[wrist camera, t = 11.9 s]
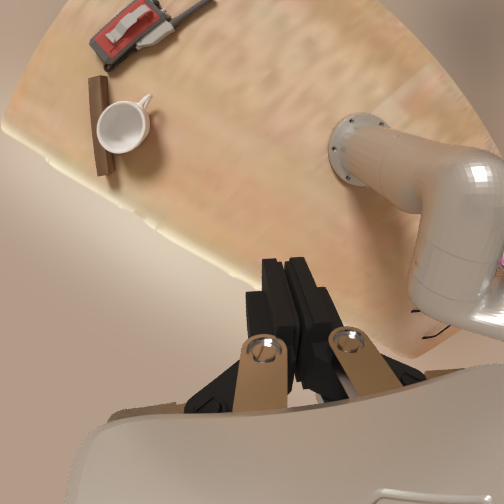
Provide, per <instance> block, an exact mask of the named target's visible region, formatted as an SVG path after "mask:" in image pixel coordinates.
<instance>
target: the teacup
mask: <svg viewBox="0 0 504 504" xmlns="http://www.w3.org/2000/svg"><path fill="white" fill-rule="evenodd" d="M151 98H152V94H148V95H146V96H145V97H144V98H143V99H142V100H141V101H140V102H138V103H134V102H130V101H119V102H116V103H113V104H111V105H110V106H108V107H107V108H106V109H105V110H104V111H103V113H102V114H101V116H100V118H99V120H98V123H97V137H98V140H99V142H100V144H101V145H102V146H103V147H104V148H105V149H106V150H107V151H109V152H112V153H116V154H121V153H126V152H129V151H132V150H133V149H135V148H136V147H138V146H139V145H140V144H141V143H142V141H143V140H144V139H145V138H146V136H147V135H148V133H149V130H150V119H149V115H148V113H147V111H146V108H147V105H148V103H149V102H150V100H151Z"/></svg>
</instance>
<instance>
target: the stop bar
mask: <svg viewBox="0 0 504 504" xmlns="http://www.w3.org/2000/svg"><path fill="white" fill-rule="evenodd" d="M88 84H89V102H90V116H91V127H92V137H93V146H94V154H95V161H96V168H97V175H98V176H103V175H109V174H110V173H112V172H113V171H115V166H114V158H113V153H112V152H109V151H107V150H106V149H105V148H104V147H103V146H102V145H101V144H100V142H99V140H98V137H97V123H98V120H99V118H100V116H101V114H102V113H103V111H104V110H105V109H106V108H107V107H108V88H107V76H100V75H99V76H95V77H91V78H88Z"/></svg>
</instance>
